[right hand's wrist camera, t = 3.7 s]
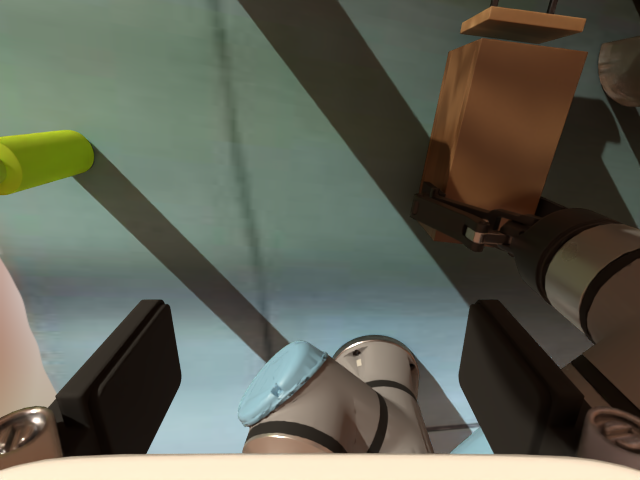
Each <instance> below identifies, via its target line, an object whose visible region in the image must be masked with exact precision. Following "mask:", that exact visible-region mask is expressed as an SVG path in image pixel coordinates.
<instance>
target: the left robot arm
mask: <svg viewBox="0 0 640 480" xmlns="http://www.w3.org/2000/svg"><path fill="white" fill-rule="evenodd" d="M445 196H446V194H445V193H443V192H442V191H441V190H440V188H437V187H436V186H434V185H433V184H432V183H430V182H426V181H423V186H422V191H421V194H415V195H414V200H413V205H412V210H411V214H410V217H411V218H413V219H415V220H417V221H419V222H421V223H423V224H425V225H427V226H429V227H431V228H433V229H435V230H437V231H440V232H442V233H444V234H446V235H448V236H450V237H452V238H454V239H456V240H458V241H460V242H461V243H462V244H464V245H465V246H466V247H467V248H469V249H470V250H472V251H474V252H482V251H483V247H484V244H487V245H489V246H492V247H495V248H498V249H500V250H503V251H506V252H507V253H508V254H509V255H510V256H512V257H514V258H515V261H516V265H517V268H518V271H519V274H520V276H521V277H522V279H523V280H524V282H525V283H526V284H527V285H528V286H529V287H531V288H532V289H533V290H534V291H535V292H536V293H537V294H538V295H540V296H541V297H542V298H543V299H544V300H545V301H546V302H548V303H549V304H550V305H552V306H553V307H554V308H555V309H556V310H557V311H558V312H560V313H561V314H562V315H563V316H564V317H565V318H567V319H568V320H569V321H570V322H571V323H572V324H573V325H575V326H576V327H577V328H578V329H579V330H580V331H582V332H583V333H584V334H585V335H586V336H587V337H588V339H589V340H590V341H591V342H592V343H593V344H595V345H594V346H592V347H591V348H589V349H588V350H586V351H585V352H584V353H582V354H583V355H582V354H581V355H580V356H579V357H577V358H576V359H575V360H573V361H571V363H569V364H568V365H567V366H565V367H564V368H562V369H561V370H562V371H563V373H564V374H565V375H566V376H567V377H568V378H569V379H570V380H571V381H572V383H573V384H574V385H575V386H576V387H577V388H578V389H579V390H580V391H581V393H582V394H583V395H584V396H585V397H584V399H585V400H586V402H587V403H588V404H589V405H590V406H591V407H592V408H593V407H599V406H606V407H613V408H617V409H620V410H623V411H626V412H629V413H631V414H633V415H635V416H637V417H639V418H640V230H639V229H637V228H634V227H631V226H628V225H625V224H622V223H620V222H617V221H615V220H613V219H610V218H608V217H605V216H603V215H600V214H598V213H595V212H593V211H590V210H586V209H581V208H570V209H568V208H566V207H564V206H562V205H559V204H557V203H555V202H552V201H550V200H548V199H546V198H543V197H541V196H540V199H539V202H538V205H537V208H536V211H535V214H534V215H532V214H525V215H522V214H518V213H515V212H511V211H508V210H504V209H495V210H491V211H489V210H486V209H482V208H479V207H476V206H472V205H469V204H465V203H462V202H459V201H455V200H452V199H449V198H445ZM502 218H506V219H509V220H508V221H507V222H506V223H505V224H504V225H503V226H502V227H501V228H500V231H498V229H499V225H500V222H501V219H502ZM418 384H419V370H418V366H417V363H416V361H415V358H414V356H413V354H412V353H411V351H410V350H409V349H408V348H407V347H406V346H405V345H404V344H403V343H401V342H400V341H398V340H396V339H393V338H391V337H387V336H382V335H368V336H362V337H359V338H356V339H353V340H351V341H349V342H347V343H346V344H344V345H343V346H342V347H341V348H340V349H339V350H338V351H337V352H336V353H335V354H334V356H333V358H332V357H330V356H329V355H328V353H326V352H324V351H323V352H322V351H320V350H319V349H317V348H316V347H314V346H313V345H311V344H310V343H308V342H305V341H295V342H292V343H290V344H288V345H287V346H285V347H284V348H282V349H281V350H280V351H279V352H277V353H276V354H275V355H274V356H273V357H272V358H271V359H270V360H269V361H268V362H267V363H266V365H265V366H264V367H263V368H262V369H261V370H260V372H259V373H258V374H257V376H256V377H255V378H254V380H253V381H252V383H251V384H250V386H249V387H248V389H247V390H246V392H245V394H244V396H243V398H242V400H241V402H240V404H239V407H238V418H239V420H240V421H241V422H242V424H243V426H245V427H246V426H247V427H250V430H249V433H248V436H247V439H246V442H245V444H244V447H243V451H242V453H402V454H434V450H433V447H432V444H431V441H430V438H429V435H428V432H427V429H426V426H425V423H424V420H423V417H422V414H421V411H420V408H419V405H418V402H417V394H418ZM450 454H494V453H493V451H492V449H491V447H490V445H489V443H488V441H487V439H486V437H485V435H484V433H483V431H482V429H481V427H480V428H478V429H477V430H476V431H475V432H474V433H472V434H471V435H470V436H469V437H468V438H467V439H465V440H464V441H463V442H462V443H461V444H459V445H458V446H457V447H456V448H455V449H454V450H452V451H451V453H450Z"/></svg>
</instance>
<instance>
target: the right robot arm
mask: <svg viewBox="0 0 640 480" xmlns="http://www.w3.org/2000/svg"><path fill="white" fill-rule="evenodd" d="M180 383H181V369H180V363H179V357H178V351H177V345H176V339H175V333H174V327H173V321H172V315H171V309H170V306H169V305H168V304H165V303H164V301H163V300H142V301H140V302H139V303H138V305H137V306H136V307H135V308H134V309H133V310H132V311H131V312H130V314H129V315H128V316H127V317H126V318H125V319H124V320H123V321H122V322H121V324H120V325H119V326H118V327H117V328H116V329H115V330H114V331H113V332H112V334H111V335H110V336H109V337H108V338H107V339H106V340H105V341H104V342H103V344H102V345H101V346H100V347H99V348H98V349H97V350H96V351H95V352H94V354H93V355H92V356H91V357H90V358H89V359H88V360H87V361H86V363H85V364H84V365H83V366H82V367H81V368H80V369H79V370H78V371H77V373H76V374H75V375H74V376H73V377H72V378H71V379H70V380H69V381H68V383H67V384H66V385H65V386H64V387H63V388H62V389H61V390H60V391H59V393H58V394H57V395H56V399H55V400H54V402H53V403H52V404H51V405H50V406H49V407H48V408H46V407H41V406H34V407H27V408H23V409H20V410H17V411H14V412H11V413H9V414H7V415H5V416H3V417H1V418H0V480H640V418H639V417H637V416H635V415H633V414H631V413H629V412H626V411H623V410H620V409H617V408H613V407H606V406H599V407H593V408H592V407H591V406H590V405H589V404H588V403H587V402H586V400H585V399H584V397H585V396H584V395H583V394H582V393H581V391H580V390H579V389H578V388H577V387H576V386H575V385H574V384H573V383H572V381H571V380H570V379H569V378H568V377H567V376H566V375H565V374H564V373H563V371H562V370H561V369H560V368H559V367H558V366H557V365H556V364H555V363H554V361H553V360H552V359H551V358H550V357H549V356H548V355H547V354H546V352H545V351H544V350H543V349H542V348H541V347H540V346H539V345H538V344H537V342H536V341H535V340H534V339H533V338H532V337H531V336H530V335H529V334H528V332H527V331H526V330H525V329H524V328H523V327H522V326H521V325H520V324H519V322H518V321H517V320H516V319H515V318H514V317H513V316H512V315H511V314H510V312H509V311H508V310H507V309H506V308H505V307H504V306H503V305H502V303H501V302H500V301H498V300H477V301H476V303H475V304H472V305H471V306H470V309H469V315H468V321H467V327H466V333H465V339H464V345H463V351H462V357H461V363H460V369H459V383H460V386H461V388H462V390H463V392H464V394H465V397H466V399H467V401H468V403H469V405H470V407H471V409H472V411H473V413H474V415H475V417H476V419H477V421H478V423H479V425H480V427H481V429H482V431H483V433H484V435H485V437H486V439H487V441H488V443H489V445H490V447H491V449H492V451H493V453H494V454H402V453H238V454H146V453H147V451H148V449H149V447H150V445H151V443H152V441H153V439H154V437H155V435H156V433H157V431H158V429H159V427H160V425H161V423H162V421H163V419H164V417H165V415H166V413H167V411H168V409H169V407H170V405H171V403H172V401H173V399H174V397H175V394H176V392H177V390H178V388H179V386H180Z"/></svg>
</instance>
